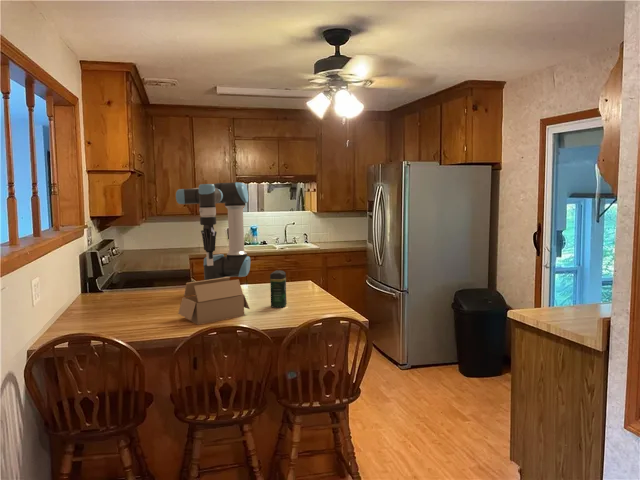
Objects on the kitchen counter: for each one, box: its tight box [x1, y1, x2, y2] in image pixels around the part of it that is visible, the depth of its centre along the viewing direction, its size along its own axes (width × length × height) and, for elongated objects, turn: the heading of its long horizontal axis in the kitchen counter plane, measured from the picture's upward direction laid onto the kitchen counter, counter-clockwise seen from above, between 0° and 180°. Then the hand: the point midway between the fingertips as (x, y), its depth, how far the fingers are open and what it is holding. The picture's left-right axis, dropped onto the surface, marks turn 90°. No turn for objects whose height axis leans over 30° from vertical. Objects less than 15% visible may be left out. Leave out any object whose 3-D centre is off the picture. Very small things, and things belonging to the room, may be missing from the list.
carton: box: [177, 294, 250, 326], centre depth 248 cm, size 16×31×10 cm, turn 127°
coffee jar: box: [269, 269, 288, 309], centre depth 265 cm, size 10×8×19 cm
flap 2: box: [194, 279, 244, 302], centre depth 241 cm, size 1×23×8 cm, turn 126°
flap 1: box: [183, 277, 231, 297], centre depth 252 cm, size 1×23×8 cm
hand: (210, 265), depth 246 cm, fingers closed
